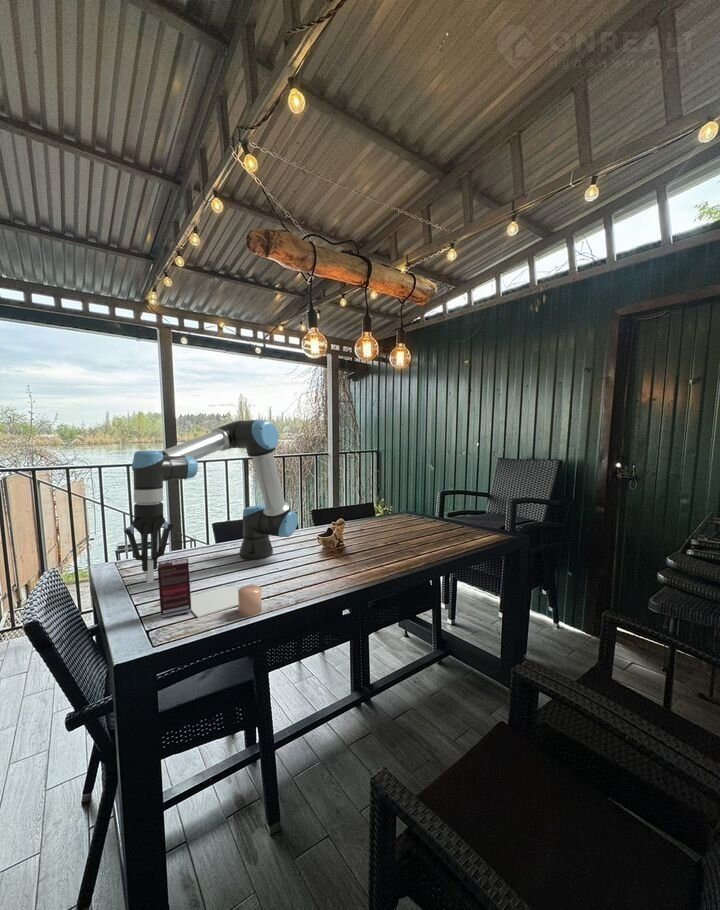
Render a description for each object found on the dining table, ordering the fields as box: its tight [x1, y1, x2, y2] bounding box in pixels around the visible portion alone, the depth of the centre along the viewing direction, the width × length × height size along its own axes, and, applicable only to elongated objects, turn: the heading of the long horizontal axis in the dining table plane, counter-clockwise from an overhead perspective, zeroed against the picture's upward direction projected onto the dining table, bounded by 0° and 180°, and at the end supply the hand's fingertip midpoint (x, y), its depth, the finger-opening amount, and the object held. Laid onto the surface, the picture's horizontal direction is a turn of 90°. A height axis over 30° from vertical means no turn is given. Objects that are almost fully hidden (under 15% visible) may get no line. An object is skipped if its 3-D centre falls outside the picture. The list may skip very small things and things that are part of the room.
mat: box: [190, 585, 238, 619], centre depth 124 cm, size 17×16×1 cm
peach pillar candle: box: [237, 584, 262, 617], centre depth 117 cm, size 7×7×7 cm
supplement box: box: [157, 558, 192, 618], centre depth 115 cm, size 9×5×16 cm, turn 116°
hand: (149, 581), depth 110 cm, fingers closed
